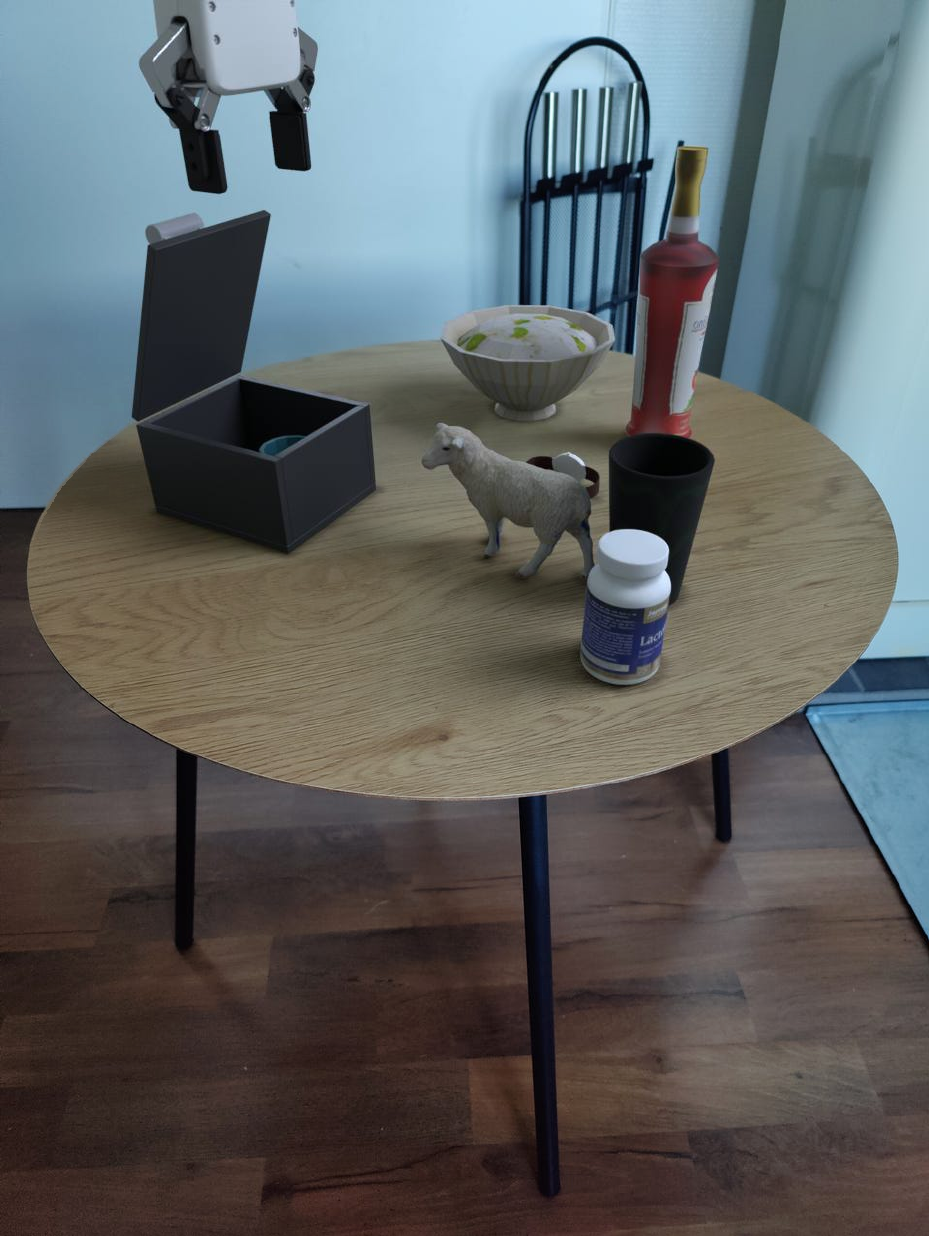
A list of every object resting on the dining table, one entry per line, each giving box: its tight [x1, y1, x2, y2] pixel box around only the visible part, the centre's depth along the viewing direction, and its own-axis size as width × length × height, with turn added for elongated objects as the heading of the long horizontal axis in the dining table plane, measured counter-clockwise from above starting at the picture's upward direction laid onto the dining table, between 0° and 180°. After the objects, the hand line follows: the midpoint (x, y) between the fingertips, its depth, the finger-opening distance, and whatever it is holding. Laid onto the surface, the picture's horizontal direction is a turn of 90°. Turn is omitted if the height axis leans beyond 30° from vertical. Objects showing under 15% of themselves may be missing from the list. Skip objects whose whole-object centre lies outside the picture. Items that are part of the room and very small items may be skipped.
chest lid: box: [131, 209, 272, 423], centre depth 79 cm, size 16×14×5 cm
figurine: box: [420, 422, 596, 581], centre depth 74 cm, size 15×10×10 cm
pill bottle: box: [579, 529, 671, 686], centre depth 63 cm, size 6×6×10 cm
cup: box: [608, 433, 716, 607], centre depth 70 cm, size 8×8×12 cm
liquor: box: [624, 145, 721, 439], centre depth 88 cm, size 7×7×28 cm
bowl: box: [439, 304, 616, 422], centre depth 101 cm, size 19×19×10 cm
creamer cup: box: [259, 435, 307, 456], centre depth 83 cm, size 5×6×6 cm
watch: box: [525, 451, 601, 500], centre depth 86 cm, size 8×5×4 cm, turn 57°
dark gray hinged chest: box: [135, 374, 377, 555], centre depth 84 cm, size 16×14×9 cm
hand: (253, 179), depth 69 cm, fingers open, 9 cm apart
